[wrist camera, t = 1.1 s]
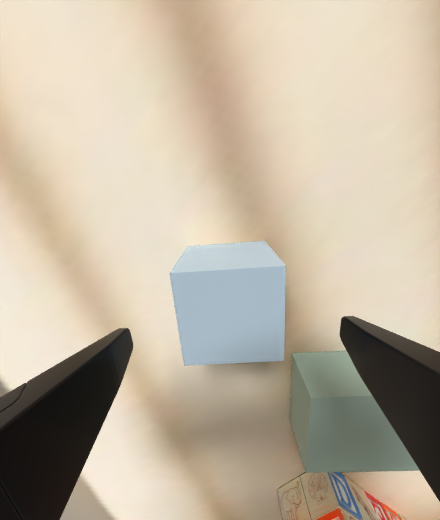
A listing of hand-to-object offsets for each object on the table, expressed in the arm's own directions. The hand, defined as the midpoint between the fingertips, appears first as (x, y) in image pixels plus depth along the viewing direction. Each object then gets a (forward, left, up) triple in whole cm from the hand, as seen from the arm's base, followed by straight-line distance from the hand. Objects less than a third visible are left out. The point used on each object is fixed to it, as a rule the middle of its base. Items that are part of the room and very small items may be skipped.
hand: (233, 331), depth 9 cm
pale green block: (-9, +10, -6) cm, 15 cm away
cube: (0, 0, -6) cm, 6 cm away
